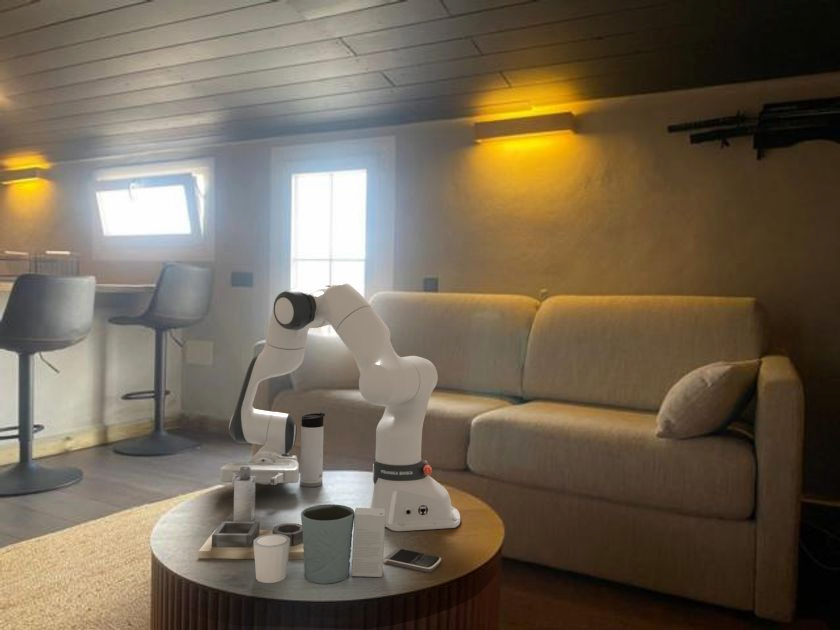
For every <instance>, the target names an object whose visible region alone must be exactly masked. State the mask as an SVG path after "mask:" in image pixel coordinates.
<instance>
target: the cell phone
mask: <svg viewBox="0 0 840 630" xmlns="http://www.w3.org/2000/svg"><path fill="white" fill-rule="evenodd" d="M441 562H442V557H440V556H437V555H433V554H432V555H431V554H428V553H423V552H417V551H413V550H408V549H403V548H399V547H398V548H394V550H393V551H392V552H390V553H389V554H388V555H387V556H385V557H383V564H386V565H392V566H396V567H401V568H404V569H410V570H415V571H418V572H419V571H420V572H423V573H424V572H425V573H431V572H433V571H434V570H436V569H437V567H439V565H440V564H441Z"/></svg>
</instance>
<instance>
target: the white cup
mask: <svg viewBox="0 0 840 630" xmlns="http://www.w3.org/2000/svg"><path fill="white" fill-rule="evenodd" d="M289 547H290V538H289V537H288V536H285V535H282V534H267V535H263V536H260V537H257V538H256V539H255V540H254V556H255V559H254V566H255V578H256V580H257V581H258V582H259V583H265V584H272V583H274V584H275V583H278V582H282V581H283V580H285V579H286V577H287V571H288V562H289V559H288V556H289Z"/></svg>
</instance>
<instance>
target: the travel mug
mask: <svg viewBox="0 0 840 630" xmlns="http://www.w3.org/2000/svg"><path fill="white" fill-rule="evenodd" d="M325 416H326V414H325V413H324V412H320V413H308V414H304V415H302V416H301V421H300V422H301V424H300V425H301V428H300V463H299V484H300V486H301V487H304V488H305V487H306V488H316V487H320V486H322V484H323V477H324V476H323V470H324V469H323V468H324V465H323V464H324V463H323V462H324V427H325V426H324V417H325Z"/></svg>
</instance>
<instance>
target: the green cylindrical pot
mask: <svg viewBox="0 0 840 630" xmlns="http://www.w3.org/2000/svg"><path fill="white" fill-rule="evenodd" d="M354 513H355V510H354V509H353V508H352V507H349V506H346V505H342V504H336V503H335V504H334V503H331V504H330V503H329V504H328V503H327V504H318V505H313V506H309V507H307V508H304V509H303V510H302V511H301V513H300V519H301V525H302V530H303V545H304V546H303V549H304V552H303V554H304V559H303V562H304V563H303V570H304V576H305V579H306V580H308V581H309V582H311V583H314V584H322V585H323V584H325V585H326V584H333V583H338V582H341V581H344V580H345V579H346V578H348V577H349V574H350V568H351V567H350V565H351V562H350V561H351V558H352V557H351V556H352V555H351V554H352V543H353V531H354Z"/></svg>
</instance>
